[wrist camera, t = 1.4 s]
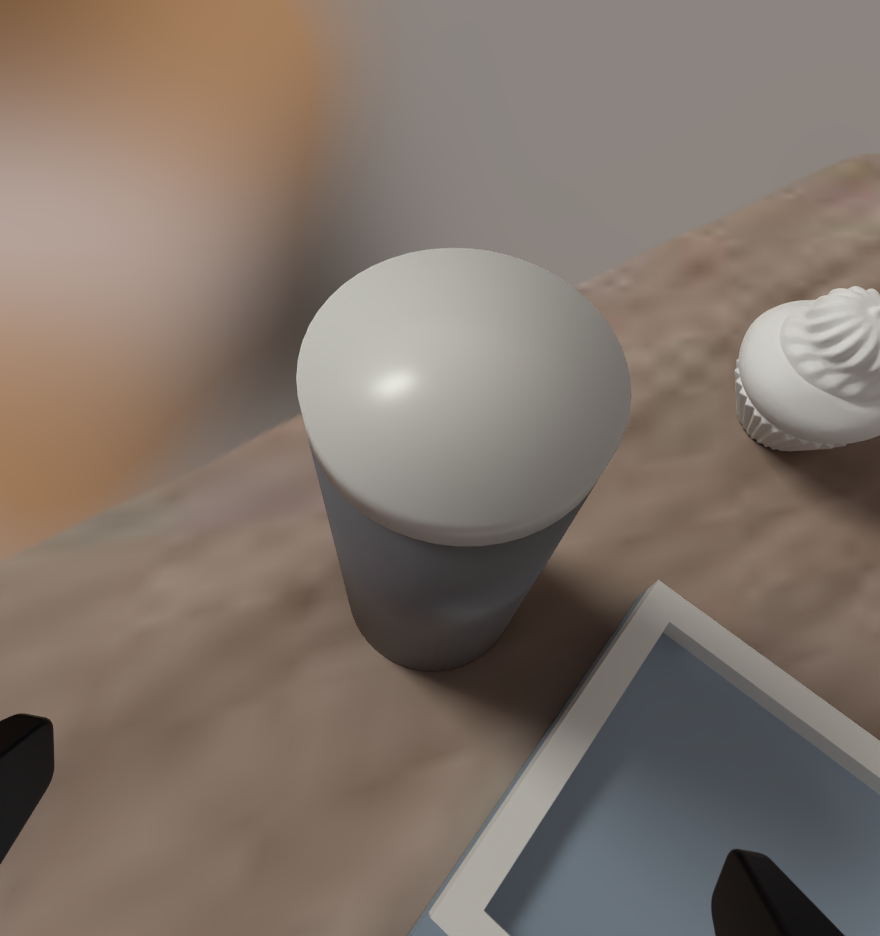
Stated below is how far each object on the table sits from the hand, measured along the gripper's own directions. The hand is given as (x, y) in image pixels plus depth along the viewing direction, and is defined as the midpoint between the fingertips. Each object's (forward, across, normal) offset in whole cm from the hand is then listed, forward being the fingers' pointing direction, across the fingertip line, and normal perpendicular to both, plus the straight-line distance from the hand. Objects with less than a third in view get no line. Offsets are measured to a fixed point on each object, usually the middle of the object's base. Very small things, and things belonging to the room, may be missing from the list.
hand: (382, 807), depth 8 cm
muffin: (+21, -13, -3) cm, 25 cm away
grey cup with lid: (+14, 0, +4) cm, 15 cm away
